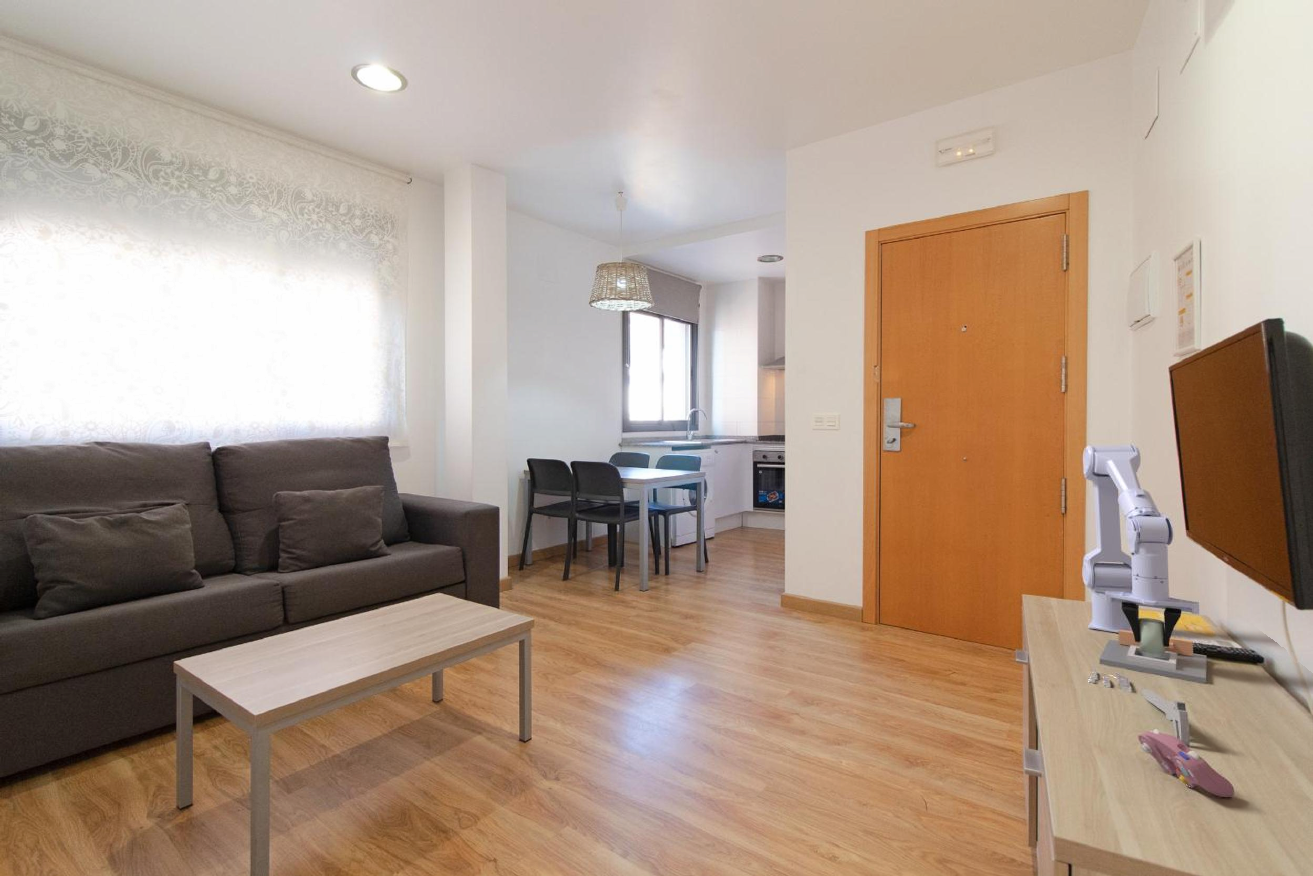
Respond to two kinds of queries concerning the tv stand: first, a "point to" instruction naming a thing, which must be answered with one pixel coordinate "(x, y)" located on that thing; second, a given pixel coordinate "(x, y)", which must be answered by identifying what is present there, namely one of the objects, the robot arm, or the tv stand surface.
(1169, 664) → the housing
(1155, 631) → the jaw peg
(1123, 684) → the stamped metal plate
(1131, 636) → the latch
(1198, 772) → the video game controller
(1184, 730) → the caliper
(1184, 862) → the tv stand surface
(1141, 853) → the tv stand surface
